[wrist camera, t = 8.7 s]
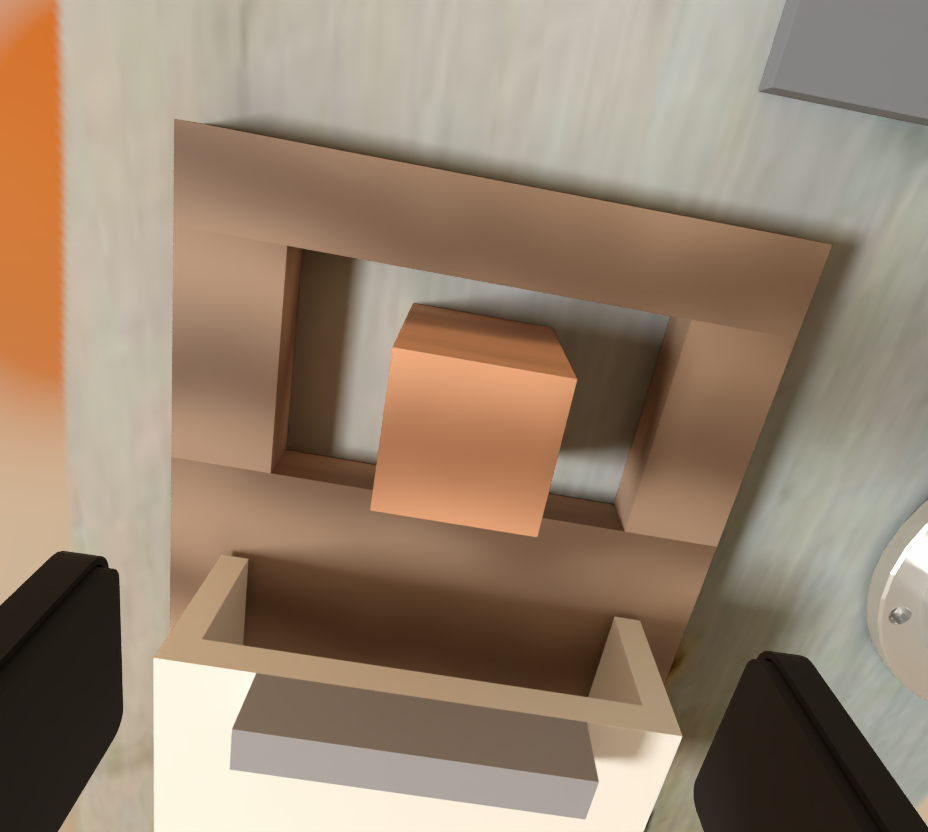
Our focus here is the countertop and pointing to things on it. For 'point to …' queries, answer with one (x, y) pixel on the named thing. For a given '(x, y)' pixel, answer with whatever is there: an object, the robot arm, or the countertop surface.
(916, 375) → the countertop surface
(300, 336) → the countertop surface
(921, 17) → the slate mat
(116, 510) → the countertop surface
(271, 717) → the cream bridge stand
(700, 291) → the puzzle board
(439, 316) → the block
